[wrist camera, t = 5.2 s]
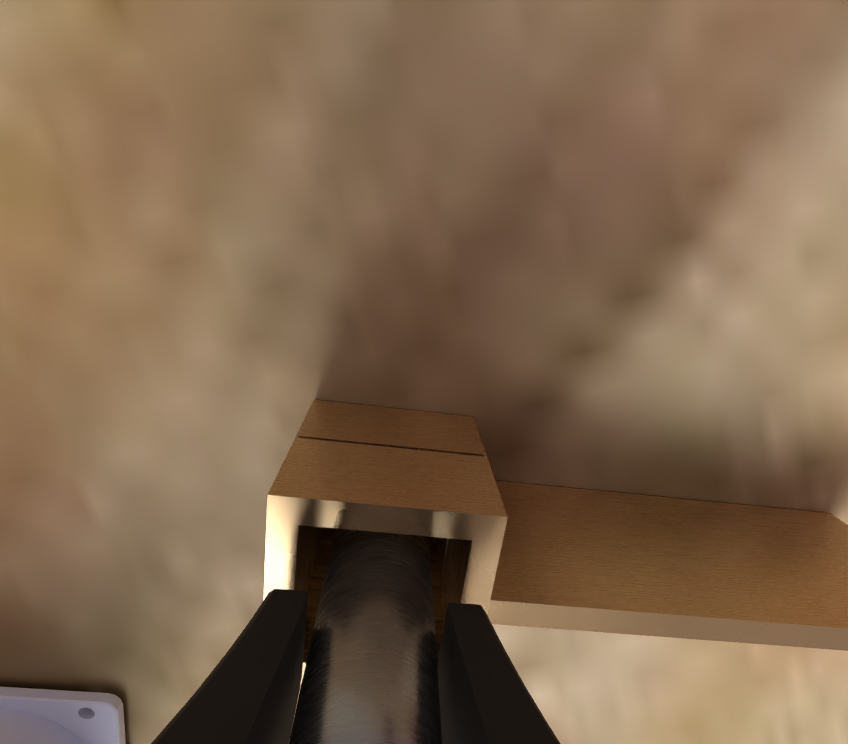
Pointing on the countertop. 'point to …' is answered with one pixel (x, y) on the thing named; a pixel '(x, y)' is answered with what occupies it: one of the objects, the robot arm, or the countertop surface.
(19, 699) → the robot arm
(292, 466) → the hinge leaves
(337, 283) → the countertop surface
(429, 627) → the hinge pin
